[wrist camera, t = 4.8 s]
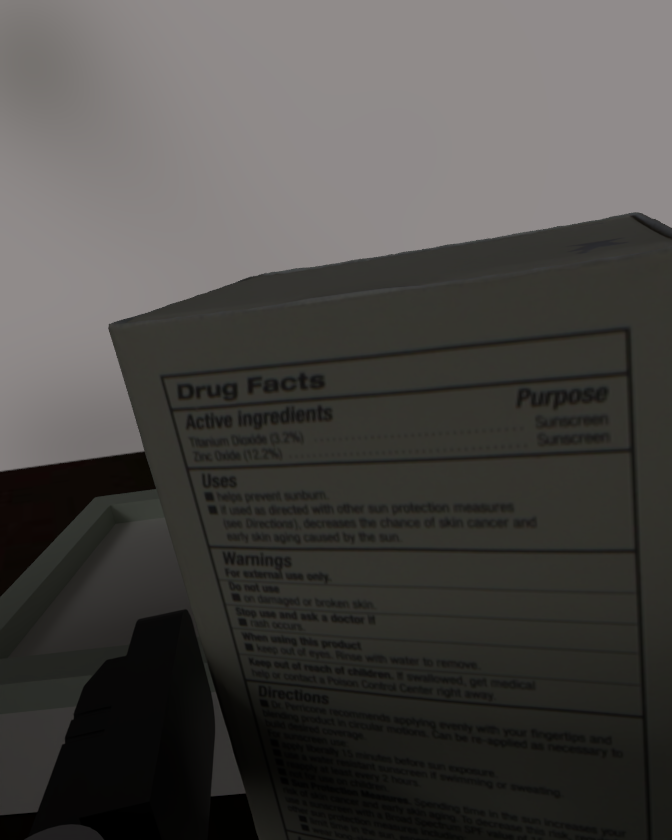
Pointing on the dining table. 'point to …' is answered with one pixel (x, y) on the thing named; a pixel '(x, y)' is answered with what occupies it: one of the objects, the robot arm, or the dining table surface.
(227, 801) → the dining table surface
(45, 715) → the shallow open tray
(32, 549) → the dining table surface
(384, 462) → the skincare box
